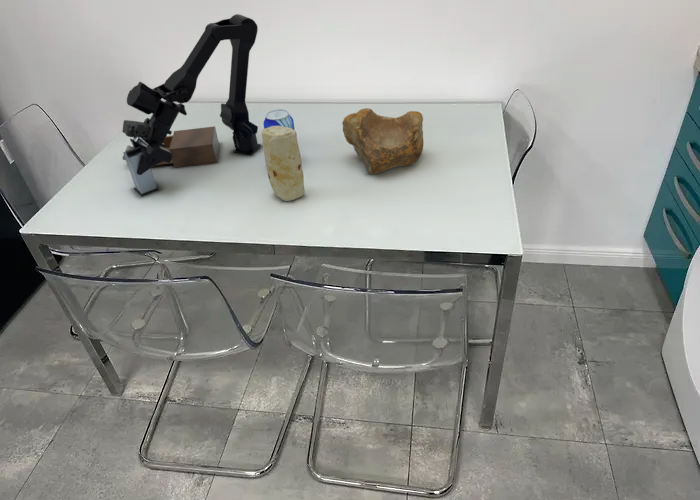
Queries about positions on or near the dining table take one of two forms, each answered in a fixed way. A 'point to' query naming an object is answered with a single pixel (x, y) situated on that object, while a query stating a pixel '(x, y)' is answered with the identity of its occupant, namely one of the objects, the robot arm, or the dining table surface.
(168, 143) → the drawer
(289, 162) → the food model
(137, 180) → the grey box with handle
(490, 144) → the dining table surface
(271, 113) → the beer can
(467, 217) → the dining table surface
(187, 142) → the cabinet
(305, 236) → the dining table surface
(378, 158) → the rough brown rock
